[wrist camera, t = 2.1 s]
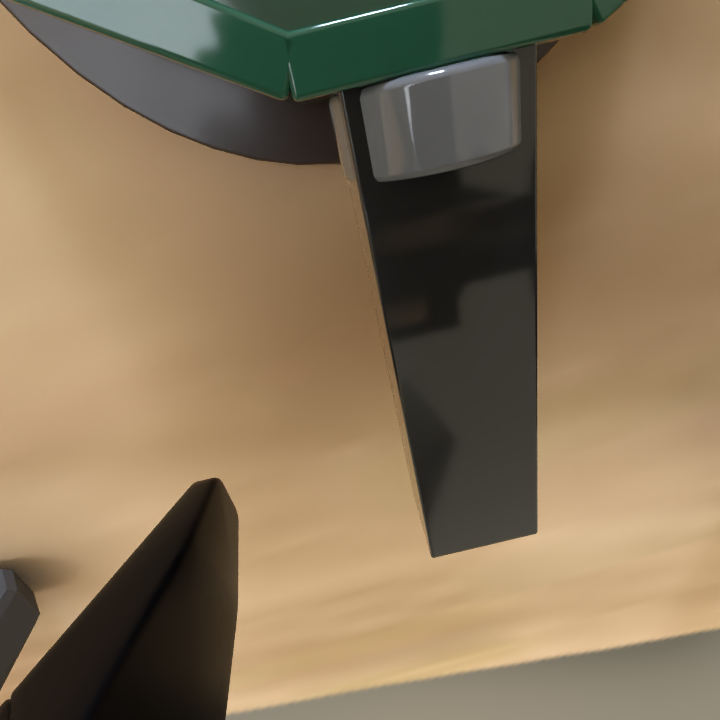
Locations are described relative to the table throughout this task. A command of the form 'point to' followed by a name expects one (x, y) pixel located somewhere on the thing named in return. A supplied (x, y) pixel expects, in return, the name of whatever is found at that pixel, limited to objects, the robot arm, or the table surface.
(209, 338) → the table surface
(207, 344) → the table surface
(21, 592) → the handheld gaming console
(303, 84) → the pot
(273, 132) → the dark round saucer
